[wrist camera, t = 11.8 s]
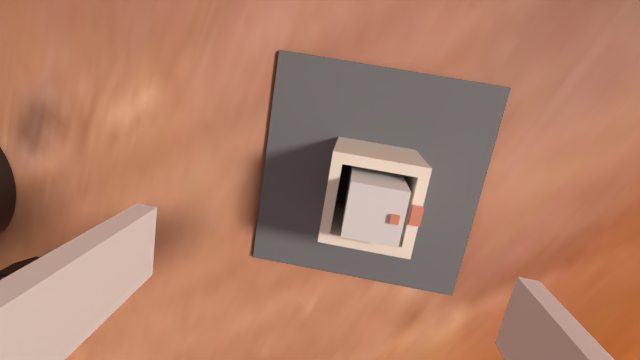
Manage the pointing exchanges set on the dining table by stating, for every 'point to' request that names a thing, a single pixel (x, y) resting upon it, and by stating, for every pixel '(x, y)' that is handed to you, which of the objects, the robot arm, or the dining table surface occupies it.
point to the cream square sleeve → (381, 160)
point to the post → (367, 184)
